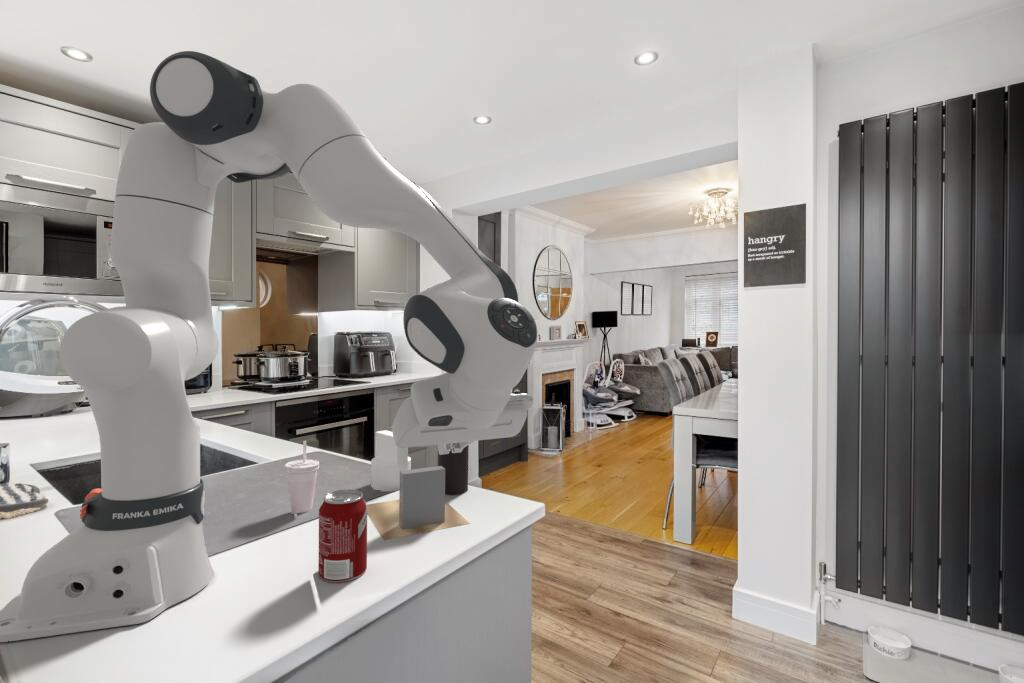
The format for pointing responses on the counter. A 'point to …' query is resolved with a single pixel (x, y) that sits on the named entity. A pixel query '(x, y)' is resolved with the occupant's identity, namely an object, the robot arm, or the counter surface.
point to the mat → (388, 527)
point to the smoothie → (301, 482)
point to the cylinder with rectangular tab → (388, 462)
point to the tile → (422, 497)
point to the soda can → (342, 536)
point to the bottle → (455, 471)
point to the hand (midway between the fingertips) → (448, 449)
